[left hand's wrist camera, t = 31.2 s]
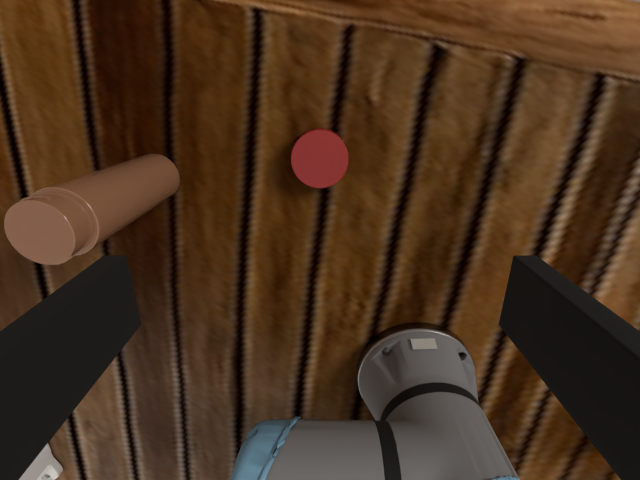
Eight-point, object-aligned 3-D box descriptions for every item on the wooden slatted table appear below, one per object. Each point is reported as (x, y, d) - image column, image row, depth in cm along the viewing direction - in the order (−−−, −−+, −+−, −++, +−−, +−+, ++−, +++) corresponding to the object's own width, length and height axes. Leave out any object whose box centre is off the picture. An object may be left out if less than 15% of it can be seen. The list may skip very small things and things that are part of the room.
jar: (123, 170, 39) (-20, 223, 23) (157, 143, 38) (34, 179, 22) (155, 207, 41) (43, 282, 24) (189, 182, 40) (96, 243, 23)
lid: (358, 155, 39) (361, 158, 37) (321, 194, 40) (321, 200, 38) (318, 115, 37) (318, 116, 35) (280, 157, 39) (278, 161, 37)
